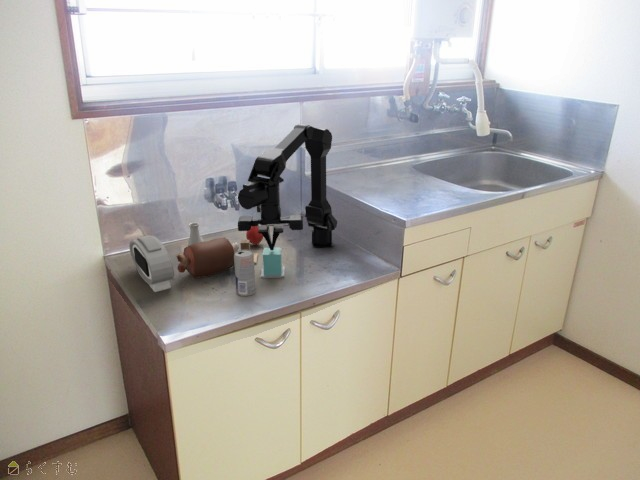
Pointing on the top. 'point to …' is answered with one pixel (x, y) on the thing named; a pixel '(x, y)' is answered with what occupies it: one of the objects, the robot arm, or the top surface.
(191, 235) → the flask
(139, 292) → the top surface
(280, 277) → the light grey base plate
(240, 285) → the energy drink
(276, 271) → the turquoise block
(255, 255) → the tan wooden stamp
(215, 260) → the meat
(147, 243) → the alarm clock
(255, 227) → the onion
